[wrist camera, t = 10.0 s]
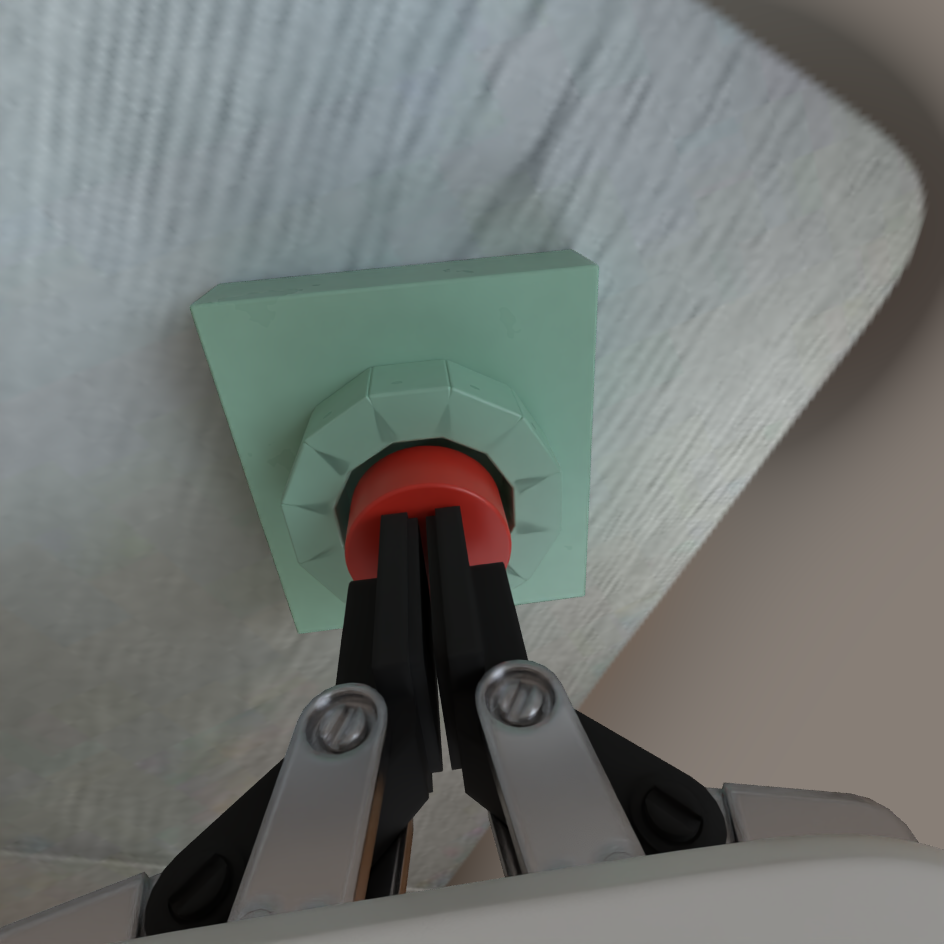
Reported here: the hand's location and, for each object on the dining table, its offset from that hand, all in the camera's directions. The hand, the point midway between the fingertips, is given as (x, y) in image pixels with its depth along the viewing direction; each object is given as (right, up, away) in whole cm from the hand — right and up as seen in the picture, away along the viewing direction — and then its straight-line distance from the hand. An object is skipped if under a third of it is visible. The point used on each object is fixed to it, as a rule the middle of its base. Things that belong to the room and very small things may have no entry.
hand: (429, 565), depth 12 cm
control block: (-1, +3, +5) cm, 5 cm away
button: (0, +1, +2) cm, 2 cm away
